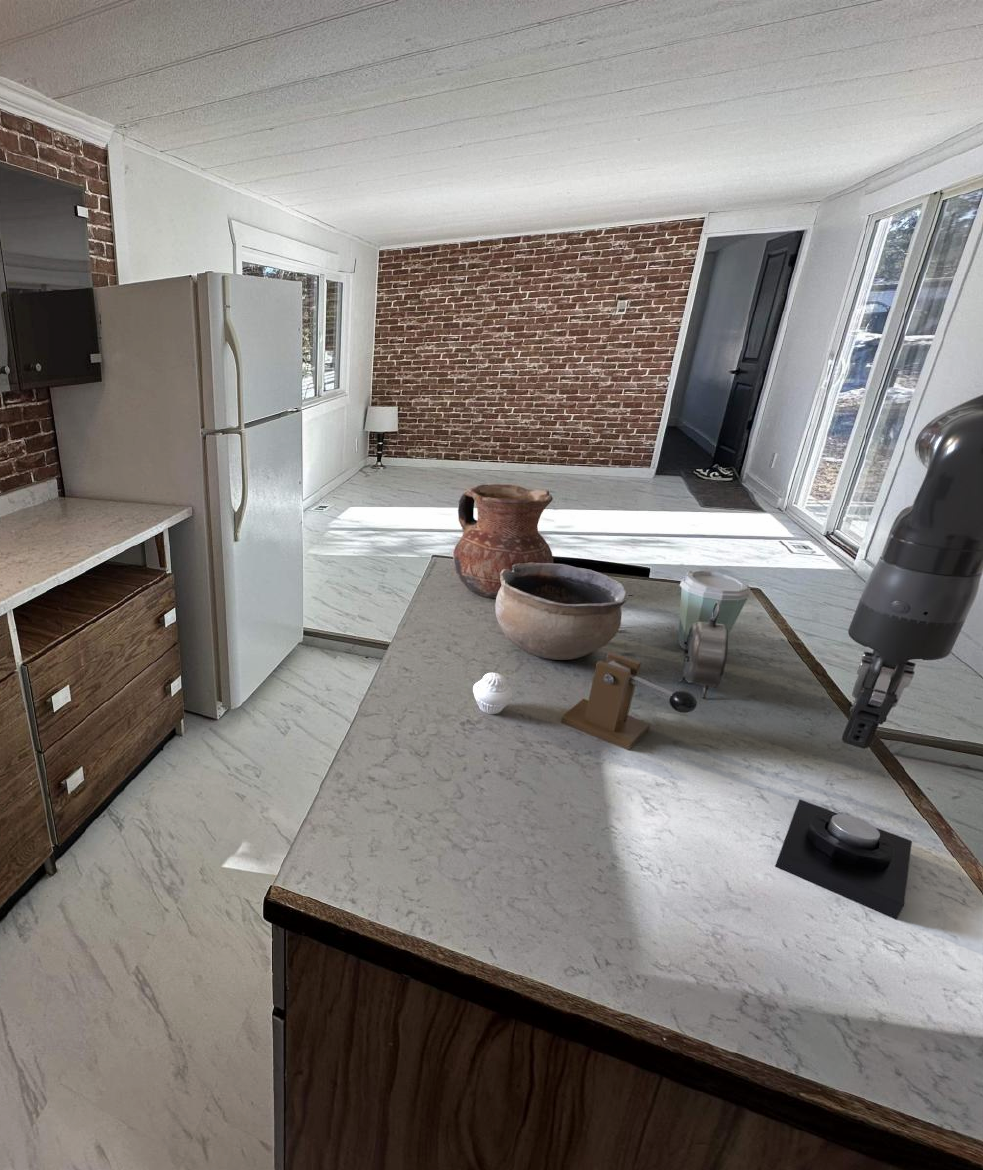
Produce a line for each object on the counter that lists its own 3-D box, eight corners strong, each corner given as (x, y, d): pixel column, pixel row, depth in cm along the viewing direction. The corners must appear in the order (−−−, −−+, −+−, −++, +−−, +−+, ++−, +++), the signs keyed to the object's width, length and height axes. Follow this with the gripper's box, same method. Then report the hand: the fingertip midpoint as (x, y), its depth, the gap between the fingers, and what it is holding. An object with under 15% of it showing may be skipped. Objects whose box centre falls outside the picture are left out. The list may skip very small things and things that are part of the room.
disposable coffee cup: (741, 649, 121) (763, 578, 115) (719, 667, 116) (742, 593, 110) (678, 631, 129) (696, 563, 124) (655, 646, 124) (673, 577, 118)
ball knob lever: (694, 711, 91) (703, 694, 90) (687, 720, 90) (696, 702, 88) (607, 673, 100) (614, 656, 98) (599, 680, 98) (606, 663, 96)
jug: (545, 579, 158) (561, 482, 148) (550, 612, 140) (569, 504, 131) (452, 570, 167) (462, 478, 157) (446, 600, 149) (457, 498, 140)
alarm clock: (715, 704, 105) (743, 617, 99) (676, 696, 108) (700, 611, 101) (710, 675, 113) (735, 593, 107) (674, 668, 116) (695, 588, 110)
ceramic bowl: (492, 619, 139) (501, 555, 133) (606, 634, 129) (621, 567, 124) (487, 665, 120) (497, 593, 115) (619, 686, 111) (637, 610, 105)
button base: (794, 812, 82) (803, 787, 80) (905, 854, 75) (917, 829, 73) (774, 866, 74) (785, 840, 72) (896, 920, 67) (910, 892, 65)
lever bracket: (648, 729, 99) (666, 665, 95) (628, 750, 95) (646, 683, 90) (582, 704, 107) (595, 643, 102) (560, 722, 102) (573, 659, 98)
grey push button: (829, 820, 76) (834, 809, 75) (876, 838, 73) (881, 826, 72) (824, 837, 73) (829, 826, 72) (872, 856, 70) (878, 844, 70)
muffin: (488, 696, 110) (493, 661, 108) (517, 713, 105) (523, 677, 103) (462, 705, 108) (467, 670, 105) (491, 723, 103) (497, 687, 100)
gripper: (967, 637, 58) (898, 786, 64) (967, 595, 66) (905, 732, 72) (854, 614, 63) (801, 754, 70) (867, 578, 71) (818, 707, 78)
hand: (854, 742), depth 71 cm, fingers closed
